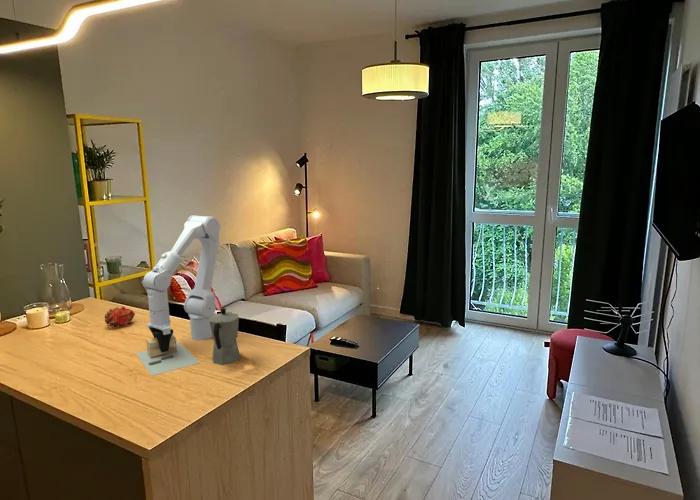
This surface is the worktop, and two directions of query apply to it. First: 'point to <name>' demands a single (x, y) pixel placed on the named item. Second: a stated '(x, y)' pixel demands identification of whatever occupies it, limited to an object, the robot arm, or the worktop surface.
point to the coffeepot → (225, 337)
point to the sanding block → (154, 347)
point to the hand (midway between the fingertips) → (162, 349)
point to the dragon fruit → (119, 317)
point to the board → (168, 360)
